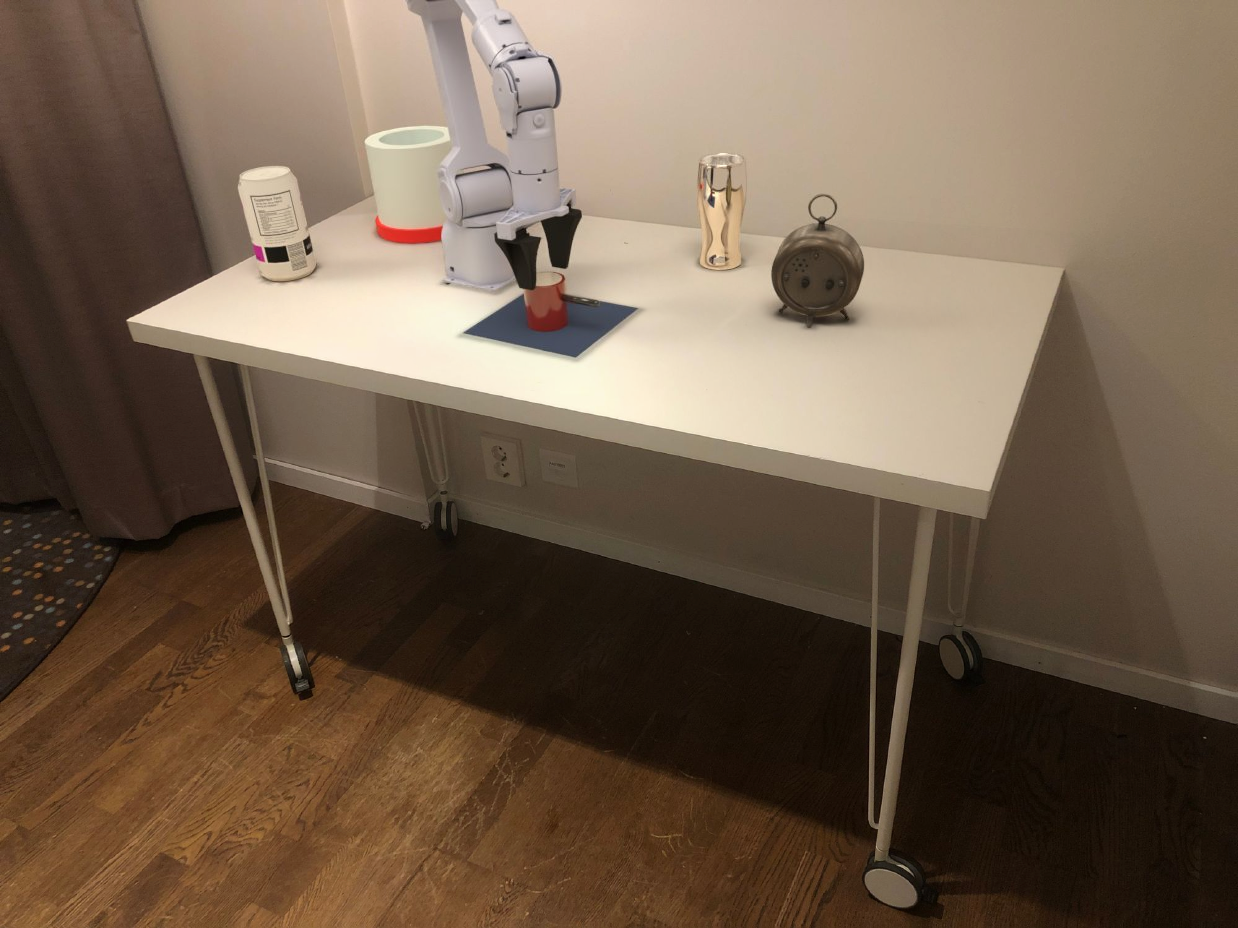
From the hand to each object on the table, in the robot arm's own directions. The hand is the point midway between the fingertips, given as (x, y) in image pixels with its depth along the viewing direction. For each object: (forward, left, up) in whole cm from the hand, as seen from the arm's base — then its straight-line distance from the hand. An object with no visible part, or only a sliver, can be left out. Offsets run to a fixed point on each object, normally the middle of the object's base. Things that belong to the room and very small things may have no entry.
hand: (543, 277), depth 117 cm
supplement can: (-47, 0, -7) cm, 47 cm away
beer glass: (+11, +29, -7) cm, 32 cm away
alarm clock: (+30, +15, -7) cm, 35 cm away
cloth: (0, +1, -7) cm, 7 cm away
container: (-41, +25, -7) cm, 48 cm away
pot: (+3, 0, -6) cm, 7 cm away
